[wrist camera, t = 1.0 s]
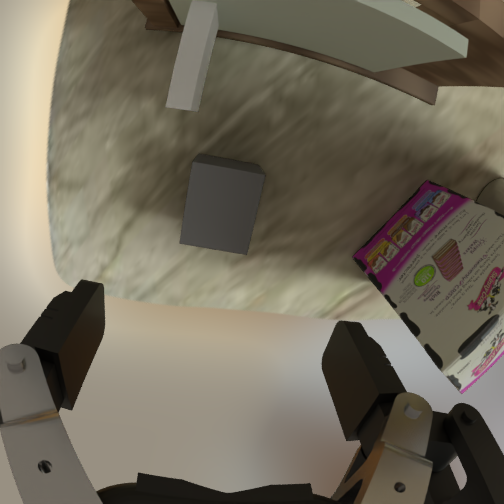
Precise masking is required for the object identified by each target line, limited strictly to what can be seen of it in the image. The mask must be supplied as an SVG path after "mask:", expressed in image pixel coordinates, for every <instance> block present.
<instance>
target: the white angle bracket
mask: <svg viewBox="0 0 504 504" xmlns="http://www.w3.org/2000/svg"><path fill="white" fill-rule="evenodd" d="M169 2H170V4H171V6H172V8H173V10H174V12H175V14H176V16H177V18H178V20H179V22H180V24H181V25H185V26H184V30H183V33H182V37H181V41H180V45H179V49H178V53H177V57H176V61H175V65H174V70H173V74H172V78H171V83H170V88H169V92H168V97H167V102H166V107H168V108H175V109H182V110H189V111H195V112H198V111H199V107H200V102H201V97H202V93H203V88H204V84H205V79H206V75H207V71H208V67H209V62H210V58H211V54H212V50H213V46H214V42H215V38H216V35H217V31H218V30H223V31H229V32H235V33H240V34H246V35H251V36H255V37H260V38H264V39H269V40H273V41H277V42H281V43H285V44H289V45H293V46H297V47H300V48H304V49H307V50H311V51H314V52H317V53H321V54H324V55H327V56H330V57H333V58H336V59H339V60H342V61H345V62H348V63H351V64H353V65H356V66H359V67H361V68H364V69H367V70H369V71H372V72H379V71H384V70H389V69H394V68H399V67H404V66H410V65H416V64H422V63H428V62H435V61H442V60H450V59H459V58H466V57H467V49H468V39H467V38H466V37H464V36H463V35H461V34H459V33H458V32H456V31H455V30H453V29H452V28H450V27H448V26H447V25H445V24H444V23H442V22H440V21H439V20H437V19H435V18H433V17H432V16H430V15H428V14H426V13H425V12H423V11H421V10H419V9H417V8H415V7H413V6H411V5H410V4H408V3H406V2H404V1H402V0H169Z"/></svg>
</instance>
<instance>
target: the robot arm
mask: <svg viewBox="0 0 504 504" xmlns="http://www.w3.org/2000/svg"><path fill="white" fill-rule="evenodd" d="M477 202H478V203H480V204H482V205H484V206H486V207H488V208H490V209H492V210H494V211H496V212H498V213H500V214H502V215H504V179H502V178H501V179H496V180H494V181H492V182H490V183H489V184H488V185H487V186H486V187H485V188H484V190H483V191H482V192H481V194H480V196H479V197H478V199H477ZM104 308H105V306H104V286H103V284H102V283H97V282H92V281H88V280H83V279H82V280H80V281H79V283H78V284H77V285H76V287H75V288H74V290H73V291H72V292H68V291H64V292H63V293H61V294H59V295H58V296H56V297H54V298H53V299H52V301H51V302H50V303H49V305H48V306H47V309H45V310H44V311H43V313H42V314H41V317H39V318H38V319H37V321H36V322H35V324H34V325H33V326H32V328H31V329H30V330H29V332H28V333H27V335H26V336H25V337H24V339H23V340H22V342H21V343H20V344H11V345H8V346H5V347H3V348H1V349H0V431H1V435H2V439H3V443H4V447H5V450H6V454H7V457H8V460H9V464H10V467H11V470H12V473H13V476H14V479H15V482H16V485H17V487H18V490H19V493H20V496H21V498H22V501H23V503H24V504H504V455H503V453H502V451H501V449H500V447H499V446H498V444H497V442H496V440H495V438H494V437H493V435H492V434H491V431H490V430H489V428H488V426H487V425H486V423H485V421H484V419H483V418H482V416H481V415H480V413H479V412H478V411H477V410H476V409H475V408H474V407H472V406H470V405H468V404H465V403H459V404H456V405H455V406H454V407H453V408H452V410H451V411H450V412H449V413H448V414H447V413H441V412H435V411H432V408H431V406H430V405H429V403H428V402H427V401H426V400H425V399H424V398H422V397H420V396H419V395H417V394H414V393H409V392H407V391H406V390H405V388H404V386H403V384H402V382H401V381H400V379H399V377H398V375H397V373H396V372H395V370H394V368H393V366H391V363H390V361H389V360H388V358H386V354H385V353H384V351H383V349H382V348H381V346H380V345H379V344H378V343H377V342H376V341H375V340H374V339H372V338H371V337H369V336H368V335H367V333H366V331H365V330H364V328H363V326H362V324H361V323H359V322H350V321H339V322H338V323H337V324H336V326H335V328H334V331H333V333H332V335H331V337H330V340H329V342H328V344H327V347H326V349H325V351H324V354H323V357H322V371H323V374H324V376H325V379H326V382H327V385H328V388H329V391H330V394H331V397H332V400H333V403H334V406H335V409H336V412H337V415H338V418H339V421H340V424H341V427H342V430H343V433H344V436H345V439H346V441H354V440H360V443H361V445H360V446H359V448H358V449H357V451H356V453H355V455H354V457H353V459H352V461H351V463H350V465H349V467H348V469H347V471H346V473H345V475H344V477H343V479H342V481H341V482H340V484H339V486H338V488H337V489H336V491H335V492H334V494H333V495H332V496H331V498H327V497H324V496H320V495H317V494H313V493H312V488H311V484H310V483H308V484H288V485H269V486H264V487H259V488H254V489H250V490H245V491H239V492H234V493H224V492H220V491H216V490H213V489H210V488H206V487H203V486H200V485H197V484H194V483H191V482H188V481H185V480H182V479H173V478H167V477H160V476H154V475H149V474H143V473H138V477H137V483H124V484H117V485H113V486H109V487H106V488H103V489H100V490H98V491H95V489H94V487H93V486H92V484H91V482H90V480H89V479H88V476H87V474H86V473H85V471H84V469H83V467H82V465H81V463H80V461H79V459H78V457H77V454H76V452H75V450H74V448H73V446H72V444H71V441H70V439H69V437H68V435H67V432H66V430H65V428H64V425H63V423H62V420H61V418H60V415H59V410H60V408H61V407H62V408H65V409H68V410H72V409H73V407H74V404H75V401H76V399H77V396H78V394H79V392H80V389H81V387H82V384H83V382H84V380H85V377H86V375H87V372H88V370H89V368H90V365H91V363H92V361H93V359H94V356H95V354H96V351H97V349H98V347H99V345H100V343H101V340H102V338H103V335H104V329H105V309H104ZM457 456H458V457H459V459H460V461H461V463H462V466H463V468H464V470H465V472H466V475H467V482H466V485H465V487H464V488H463V489H462V490H461V491H460V489H459V486H458V484H457V481H456V479H455V477H454V474H453V472H452V470H451V467H450V465H449V464H450V463H451V462H452V461H453V460H454V459H455V458H456V457H457Z"/></svg>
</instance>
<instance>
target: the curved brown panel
mask: <svg viewBox="0 0 504 504" xmlns="http://www.w3.org/2000/svg"><path fill="white" fill-rule="evenodd" d="M132 1H133V3H134V4H135V5H136V6H137V7H138V8H139V9H140V11H141V12H142V13H143V14H144V15H145V16H146V18H147V22H146V25H145V28H146V29H149V30H163V31H174V32H183V30H184V26H185V25H181V24H180V22H179V20H178V18H177V16H176V14H175V12H174V10H173V8H172V6H171V4H170V2H169V0H132ZM414 1H416V2H418V3H420V4H422V5H420V6H418V7H416V8H417V9H419V10H421V11H423V12H425V13H426V14H428V15H430V16H432V17H433V18H435V19H437V20H439V21H440V22H442V23H444V24H445V25H447V26H448V27H450V28H452V29H453V30H455V31H456V32H458V33H459V34H461V35H463V36H464V37H466V38H467V39H468V49H467V57H466V58H459V59H450V60H442V61H435V62H428V63H422V64H416V65H410V66H404V67H399V68H394V69H389V70H384V71H379V72H372V71H369V70H367V69H364V68H361V67H359V66H356V65H353V64H351V63H348V62H345V61H342V60H339V59H336V58H333V57H330V56H327V55H324V54H321V53H317V52H314V51H311V50H307V49H304V48H300V47H297V46H293V45H289V44H285V43H281V42H277V41H273V40H269V39H264V38H260V37H255V36H251V35H246V34H240V33H235V32H229V31H223V30H218V31H217V35H216V37H221V38H227V39H232V40H238V41H243V42H248V43H253V44H258V45H262V46H267V47H271V48H275V49H279V50H283V51H287V52H291V53H295V54H298V55H302V56H305V57H309V58H312V59H316V60H319V61H322V62H325V63H329V64H332V65H335V66H338V67H341V68H344V69H347V70H349V71H352V72H355V73H358V74H360V75H363V76H366V77H368V78H371V79H374V80H376V81H379V82H381V83H384V84H386V85H388V86H391V87H393V88H395V89H398V90H400V91H402V92H405V93H407V94H409V95H411V96H413V97H416V98H418V99H420V100H422V101H424V102H426V103H428V104H430V105H435V101H436V97H437V91H438V86H487V87H504V2H503V1H502V0H414Z"/></svg>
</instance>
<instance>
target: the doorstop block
mask: <svg viewBox="0 0 504 504" xmlns="http://www.w3.org/2000/svg"><path fill="white" fill-rule="evenodd" d="M264 180H265V174H264V172H263V171H262V169H261V168H260V166H259V165H257V164H252V163H247V162H242V161H237V160H232V159H226V158H221V157H215V156H210V155H204V154H198V155H197V156H196V158H195V159H194V161H193V162H192V168H191V174H190V179H189V185H188V191H187V197H186V203H185V210H184V216H183V223H182V229H181V236H180V244H185V245H191V246H197V247H203V248H209V249H215V250H221V251H227V252H233V253H239V254H245V255H247V253H248V249H249V244H250V240H251V236H252V231H253V227H254V223H255V218H256V214H257V210H258V205H259V201H260V197H261V192H262V188H263V184H264Z"/></svg>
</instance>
